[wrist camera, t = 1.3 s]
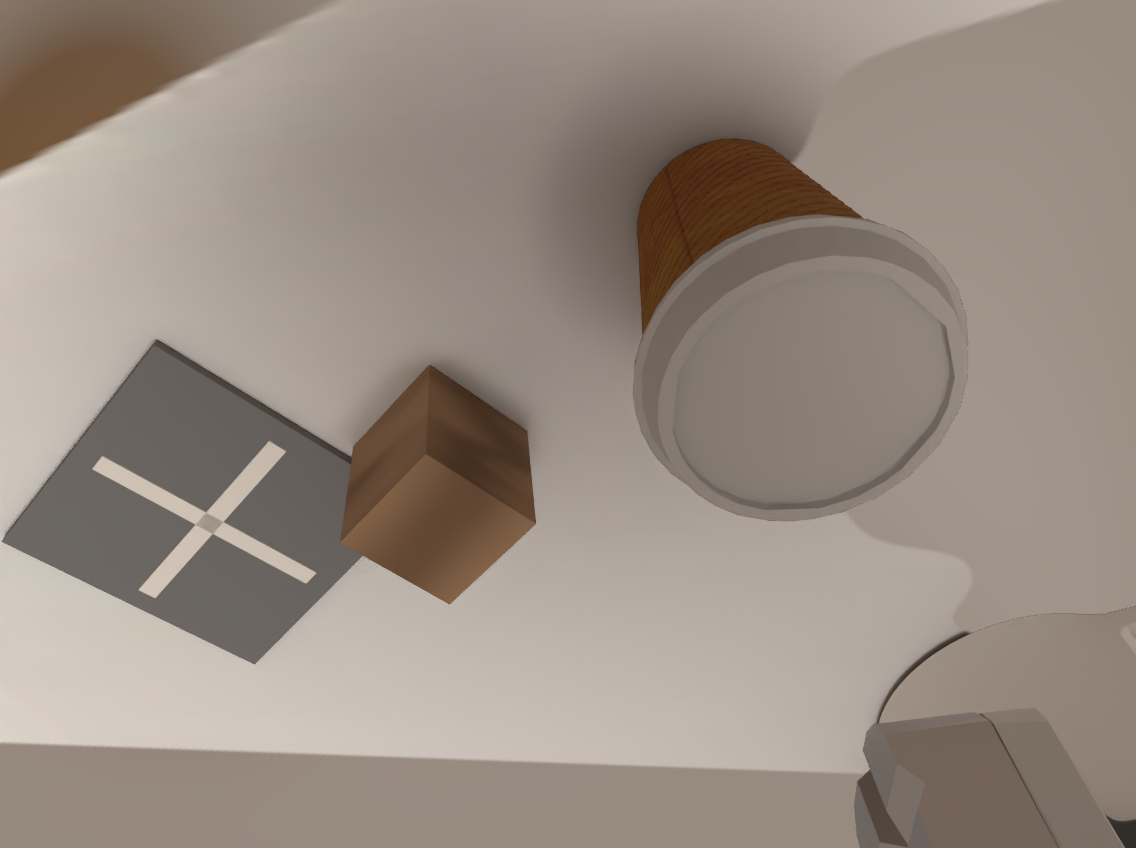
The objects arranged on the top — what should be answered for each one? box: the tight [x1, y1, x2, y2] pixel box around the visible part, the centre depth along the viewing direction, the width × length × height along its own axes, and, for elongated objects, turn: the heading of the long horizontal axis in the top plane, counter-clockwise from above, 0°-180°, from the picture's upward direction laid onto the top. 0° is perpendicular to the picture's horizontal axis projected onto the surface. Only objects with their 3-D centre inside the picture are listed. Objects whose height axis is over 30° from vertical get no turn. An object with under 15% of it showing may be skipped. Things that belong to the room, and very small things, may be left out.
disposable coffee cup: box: [633, 139, 968, 521], centre depth 34 cm, size 10×10×12 cm
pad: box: [2, 340, 363, 664], centre depth 44 cm, size 12×12×1 cm
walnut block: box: [340, 365, 536, 604], centre depth 41 cm, size 5×5×6 cm
